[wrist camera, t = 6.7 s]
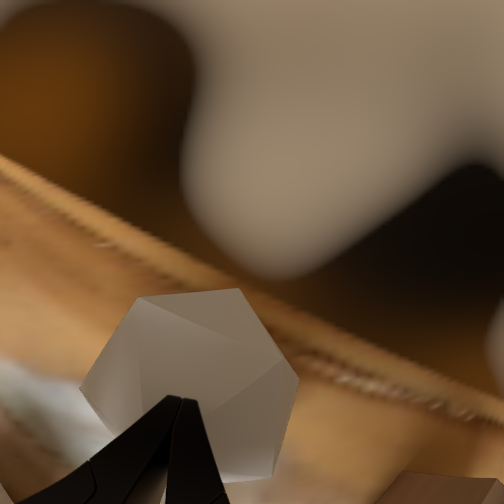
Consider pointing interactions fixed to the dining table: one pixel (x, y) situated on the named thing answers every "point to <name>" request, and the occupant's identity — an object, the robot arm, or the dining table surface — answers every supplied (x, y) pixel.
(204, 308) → the die
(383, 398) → the dining table surface
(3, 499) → the pale grey block
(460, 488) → the walnut block
